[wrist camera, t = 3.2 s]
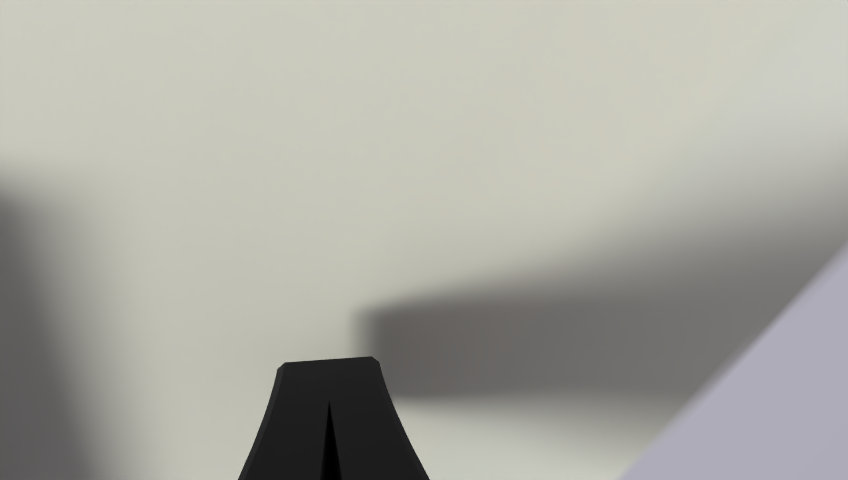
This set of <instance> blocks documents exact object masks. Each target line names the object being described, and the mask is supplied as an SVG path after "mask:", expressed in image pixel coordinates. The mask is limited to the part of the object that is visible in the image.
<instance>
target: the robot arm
mask: <svg viewBox="0 0 848 480" xmlns="http://www.w3.org/2000/svg"><path fill="white" fill-rule="evenodd" d="M238 480H430V479H429V477H428V475H427V474H426V472H425V470H424V468H423V466H422V464H421V462H420V460H419V458H418V457H417V455H416V453H415V451H414V449H413V447H412V445H411V443H410V441H409V439H408V437H407V435H406V433H405V431H404V428H403V426H402V424H401V422H400V419H399V417H398V415H397V413H396V410H395V408H394V406H393V403H392V401H391V398H390V396H389V393H388V390H387V387H386V385H385V381H384V378H383V375H382V372H381V368H380V364H379V362H378V361H377V360H376V359H374V358H373V357H372V356H371V357H357V358H343V359H329V360H314V361H300V362H286V363H284V364H283V365H282V366H281V367H279V368H278V369H277V374H276V378H275V383H274V386H273V390H272V393H271V397H270V400H269V403H268V406H267V409H266V412H265V415H264V418H263V420H262V423H261V426H260V428H259V431H258V433H257V436H256V439H255V441H254V444H253V446H252V449H251V451H250V453H249V456H248V458H247V460H246V462H245V465H244V467H243V469H242V472H241V474H240V476H239V478H238Z"/></svg>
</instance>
